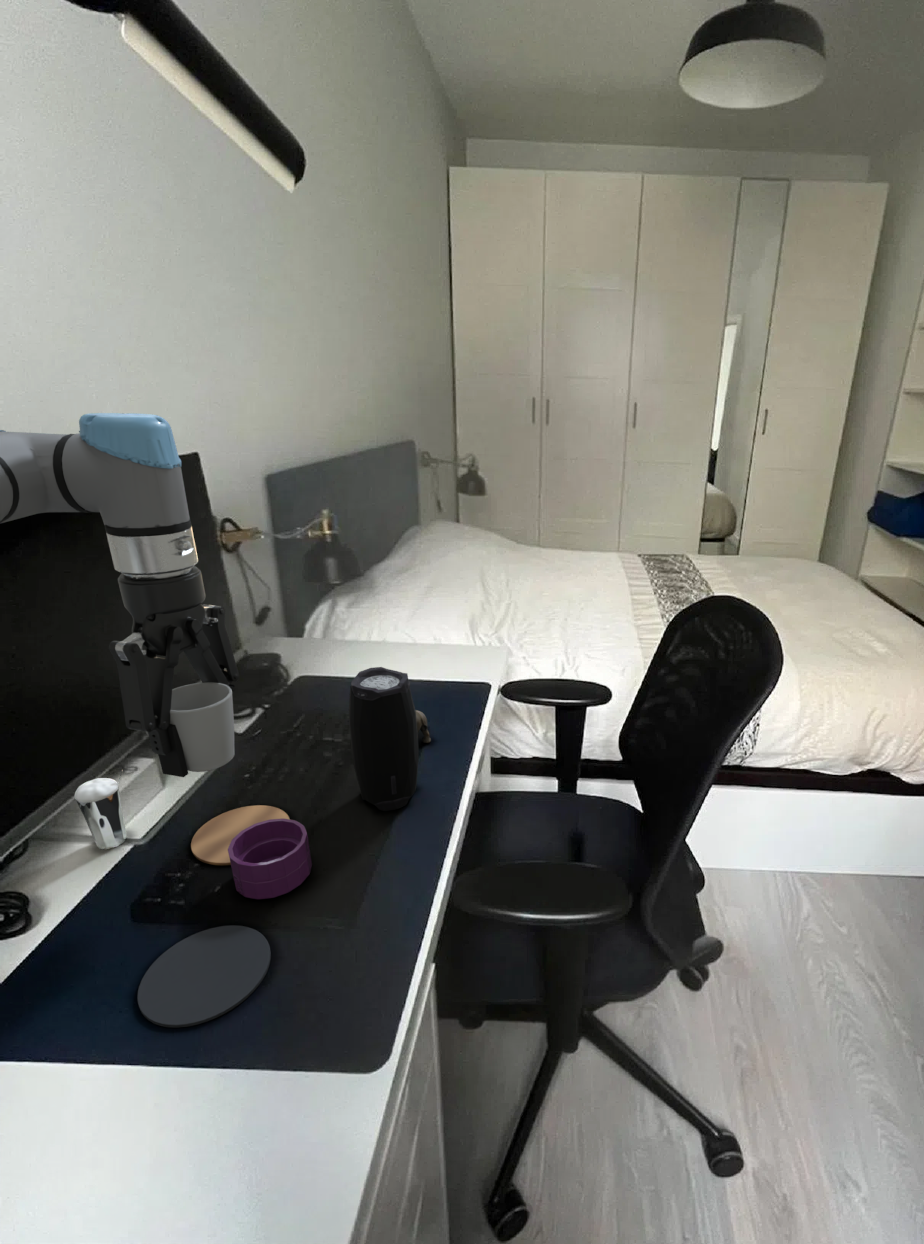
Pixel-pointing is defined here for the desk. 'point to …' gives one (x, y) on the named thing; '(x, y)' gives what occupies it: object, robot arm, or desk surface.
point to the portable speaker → (384, 737)
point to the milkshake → (102, 811)
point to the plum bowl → (270, 858)
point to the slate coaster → (204, 976)
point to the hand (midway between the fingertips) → (200, 756)
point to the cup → (204, 724)
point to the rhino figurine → (422, 726)
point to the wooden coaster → (228, 831)
